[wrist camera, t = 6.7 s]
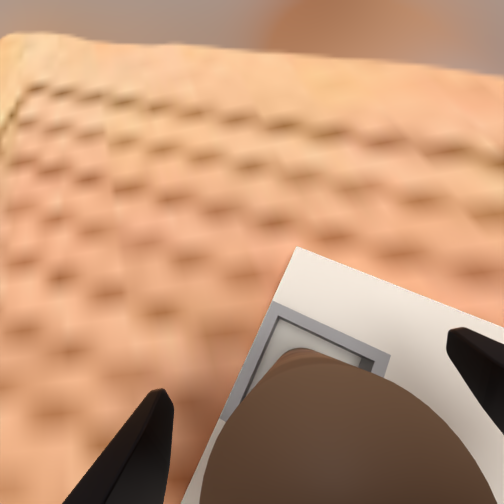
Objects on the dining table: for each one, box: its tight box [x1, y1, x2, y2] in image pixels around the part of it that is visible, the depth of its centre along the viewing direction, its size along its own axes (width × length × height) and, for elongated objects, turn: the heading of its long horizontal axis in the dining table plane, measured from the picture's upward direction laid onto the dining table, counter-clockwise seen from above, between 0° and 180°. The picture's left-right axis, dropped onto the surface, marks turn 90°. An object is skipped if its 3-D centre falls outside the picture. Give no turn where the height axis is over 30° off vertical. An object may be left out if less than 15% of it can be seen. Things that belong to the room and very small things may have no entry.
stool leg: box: [199, 348, 497, 504], centre depth 9 cm, size 4×4×13 cm
